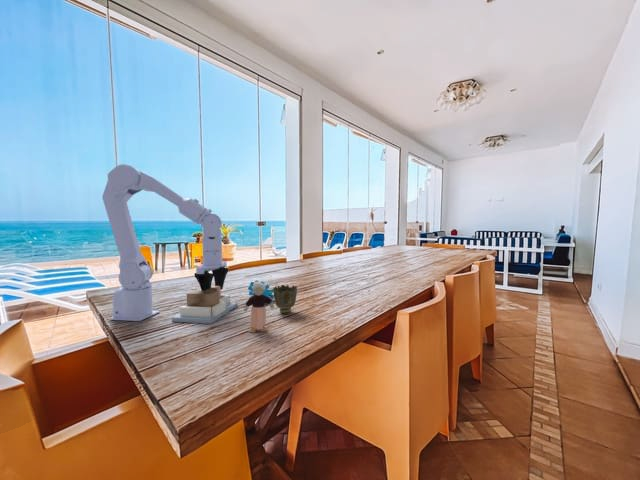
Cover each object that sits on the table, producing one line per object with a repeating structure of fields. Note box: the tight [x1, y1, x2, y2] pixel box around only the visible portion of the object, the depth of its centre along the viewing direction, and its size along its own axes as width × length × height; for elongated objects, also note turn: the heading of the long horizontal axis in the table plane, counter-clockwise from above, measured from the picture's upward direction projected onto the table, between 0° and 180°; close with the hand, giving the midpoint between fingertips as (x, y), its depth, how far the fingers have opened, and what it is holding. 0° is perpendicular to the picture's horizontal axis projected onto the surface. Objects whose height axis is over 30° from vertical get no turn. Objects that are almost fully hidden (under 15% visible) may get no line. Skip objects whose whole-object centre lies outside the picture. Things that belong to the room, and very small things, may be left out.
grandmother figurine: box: [243, 281, 275, 334], centre depth 67 cm, size 8×4×13 cm, turn 117°
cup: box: [272, 284, 298, 315], centre depth 80 cm, size 8×7×8 cm
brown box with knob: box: [186, 288, 219, 315], centre depth 78 cm, size 8×4×7 cm, turn 82°
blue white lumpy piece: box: [247, 280, 274, 306], centre depth 92 cm, size 11×6×10 cm
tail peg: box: [211, 285, 222, 299], centre depth 85 cm, size 3×3×6 cm
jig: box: [171, 294, 238, 324], centre depth 80 cm, size 12×16×4 cm
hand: (213, 292), depth 85 cm, fingers open, 7 cm apart
